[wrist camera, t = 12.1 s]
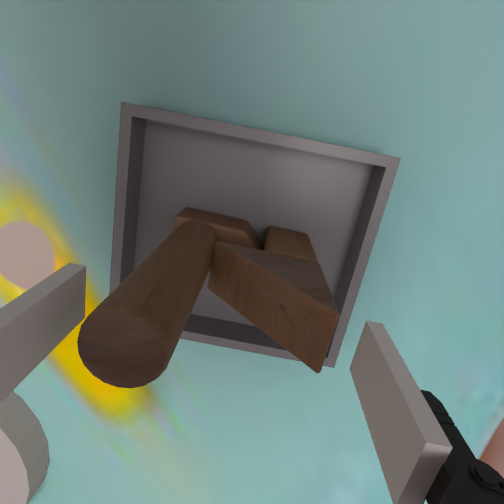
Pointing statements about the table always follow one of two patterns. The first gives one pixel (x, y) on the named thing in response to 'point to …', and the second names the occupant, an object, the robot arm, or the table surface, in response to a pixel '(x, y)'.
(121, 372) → the brown round-handled part
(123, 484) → the table surface
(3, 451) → the ashtray
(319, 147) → the tray
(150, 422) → the table surface
